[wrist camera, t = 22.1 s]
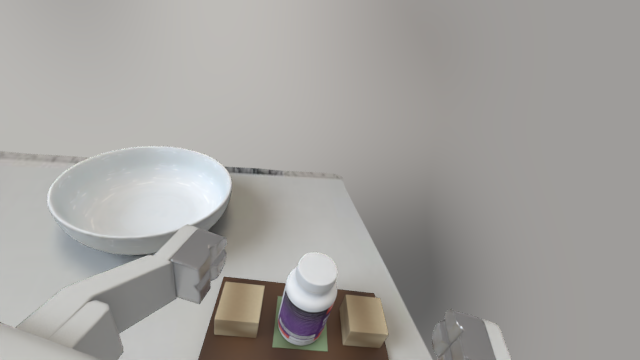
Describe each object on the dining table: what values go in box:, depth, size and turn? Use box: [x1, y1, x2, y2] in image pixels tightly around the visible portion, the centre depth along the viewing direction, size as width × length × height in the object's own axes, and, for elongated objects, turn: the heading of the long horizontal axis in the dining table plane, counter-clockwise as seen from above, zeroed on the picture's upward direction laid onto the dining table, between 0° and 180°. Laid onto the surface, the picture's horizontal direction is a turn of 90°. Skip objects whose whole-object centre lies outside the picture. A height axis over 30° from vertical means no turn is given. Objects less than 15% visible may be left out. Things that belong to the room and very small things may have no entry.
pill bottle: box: [278, 252, 338, 346], centre depth 29 cm, size 5×5×10 cm
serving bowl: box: [47, 146, 232, 255], centre depth 39 cm, size 21×21×7 cm
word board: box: [198, 277, 389, 360], centre depth 32 cm, size 20×10×4 cm, turn 92°
